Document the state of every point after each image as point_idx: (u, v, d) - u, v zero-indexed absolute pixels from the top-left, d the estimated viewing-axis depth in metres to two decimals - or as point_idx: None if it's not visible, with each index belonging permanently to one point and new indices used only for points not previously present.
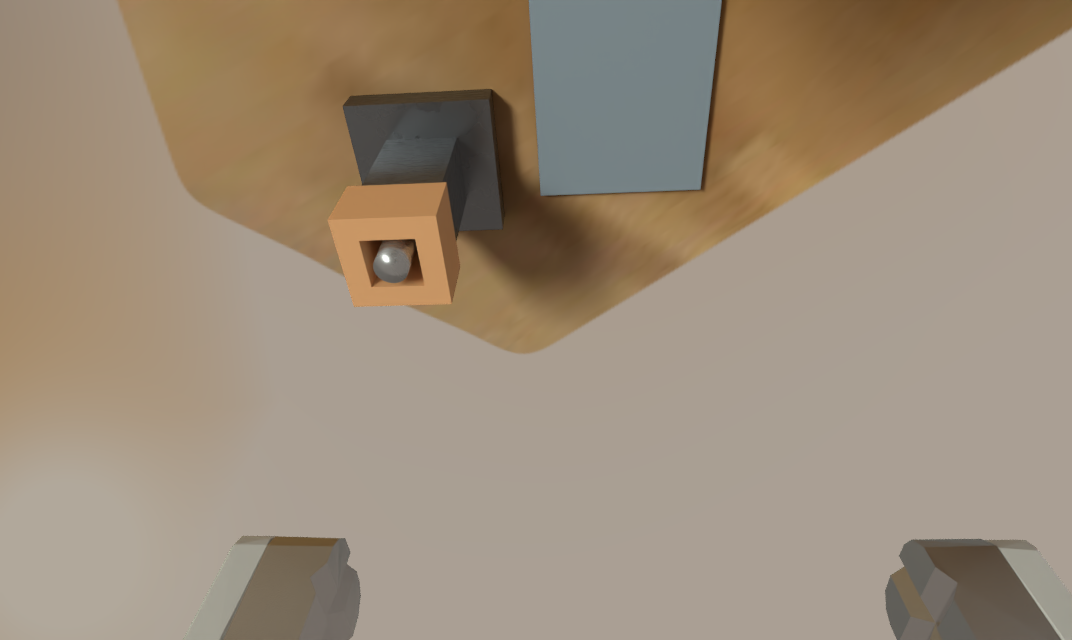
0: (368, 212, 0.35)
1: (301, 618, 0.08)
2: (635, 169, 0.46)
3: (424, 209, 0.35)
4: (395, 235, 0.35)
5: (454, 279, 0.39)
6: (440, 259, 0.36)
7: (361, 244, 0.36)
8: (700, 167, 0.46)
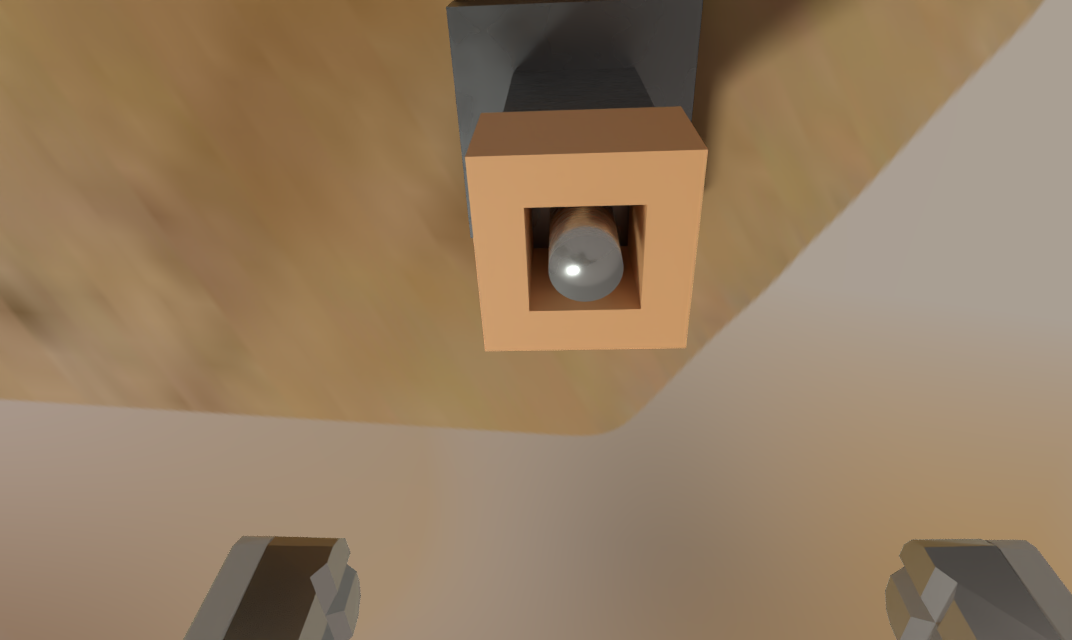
0: None
1: (301, 618, 0.08)
2: None
3: None
4: (516, 244, 0.17)
5: (674, 128, 0.17)
6: (577, 159, 0.16)
7: (544, 305, 0.18)
8: None
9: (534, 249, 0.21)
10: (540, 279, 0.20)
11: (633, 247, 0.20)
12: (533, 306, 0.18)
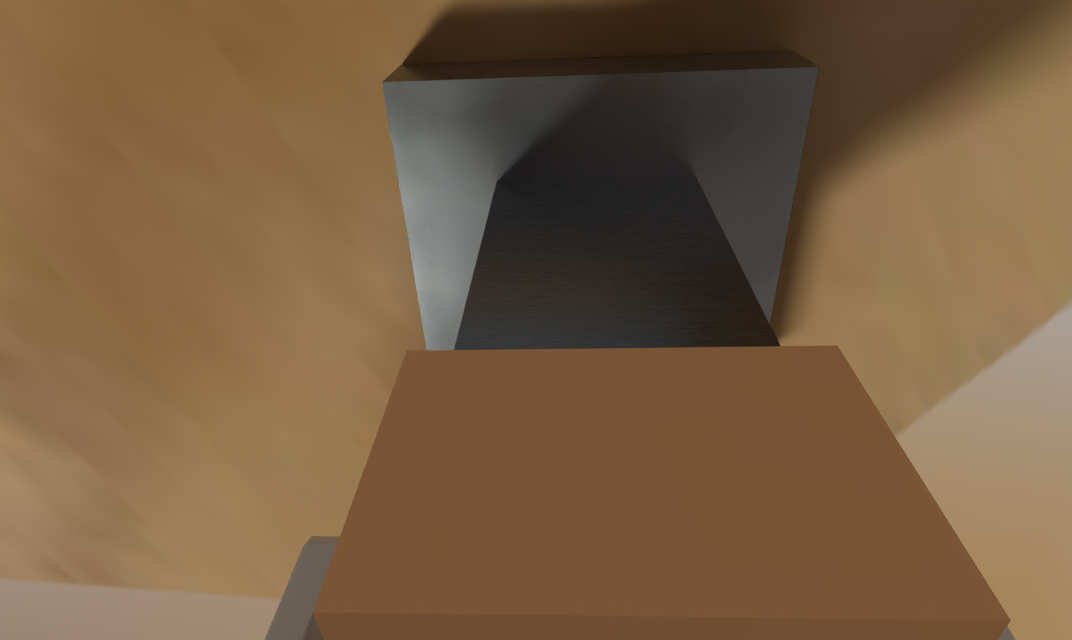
0: None
1: None
2: None
3: None
4: None
5: (860, 464, 0.07)
6: (628, 625, 0.06)
7: None
8: None
9: None
10: None
11: None
12: None
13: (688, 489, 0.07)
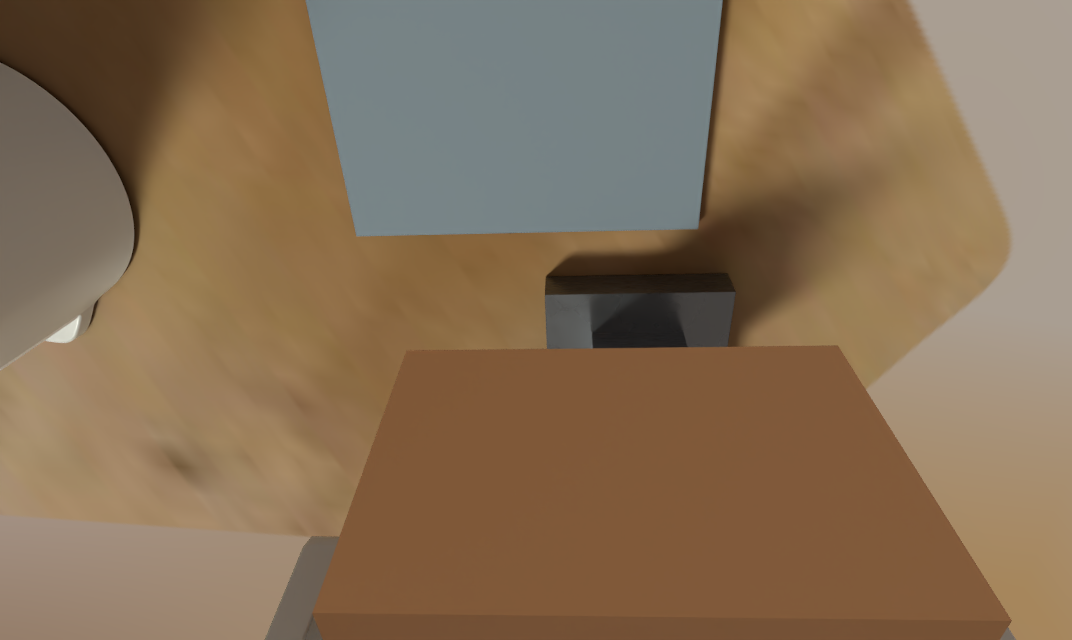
0: None
1: None
2: (672, 86, 0.29)
3: None
4: None
5: (861, 464, 0.07)
6: (629, 627, 0.06)
7: None
8: None
9: None
10: None
11: None
12: None
13: (688, 489, 0.07)
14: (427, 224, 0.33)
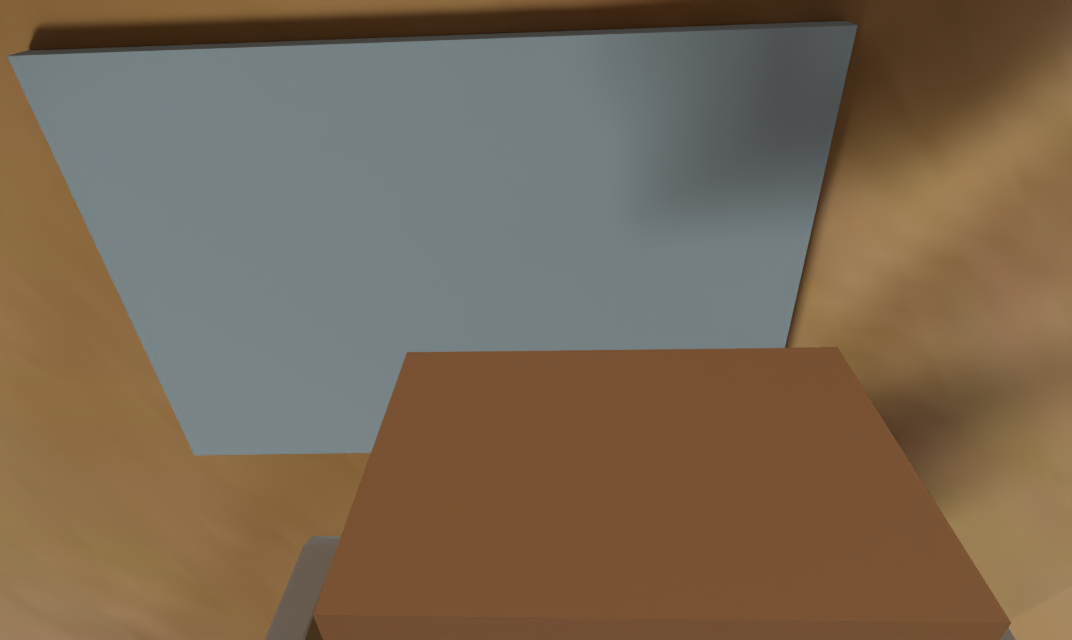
0: None
1: None
2: (734, 241, 0.16)
3: None
4: None
5: (861, 466, 0.07)
6: (630, 629, 0.06)
7: None
8: (768, 36, 0.13)
9: None
10: None
11: None
12: None
13: (688, 491, 0.07)
14: (311, 439, 0.20)
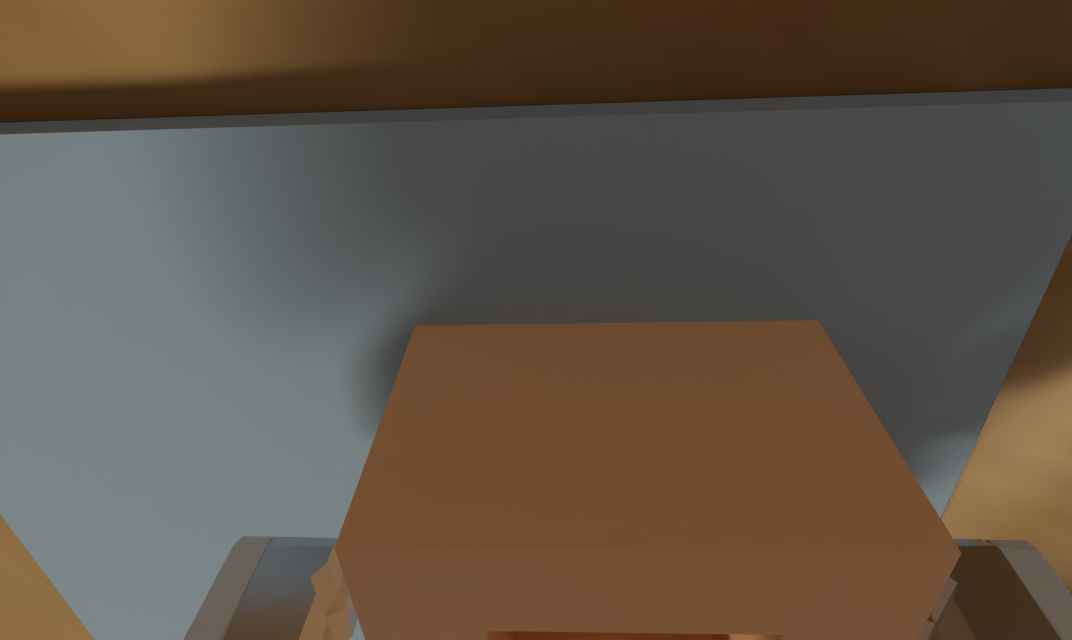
0: None
1: (301, 618, 0.08)
2: None
3: None
4: None
5: (834, 423, 0.07)
6: (618, 560, 0.06)
7: None
8: (973, 117, 0.08)
9: None
10: (532, 633, 0.10)
11: None
12: None
13: (675, 444, 0.07)
14: None
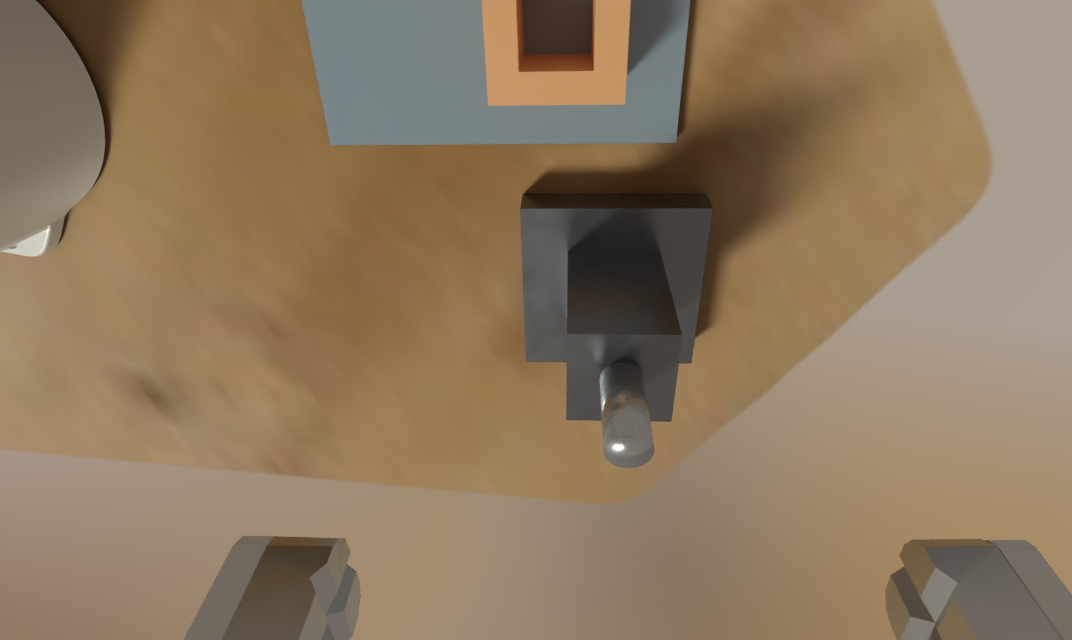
0: None
1: (301, 618, 0.08)
2: None
3: None
4: (510, 16, 0.26)
5: None
6: None
7: (528, 70, 0.27)
8: None
9: (525, 54, 0.30)
10: (528, 62, 0.28)
11: (592, 42, 0.28)
12: (521, 70, 0.27)
13: None
14: (402, 133, 0.33)
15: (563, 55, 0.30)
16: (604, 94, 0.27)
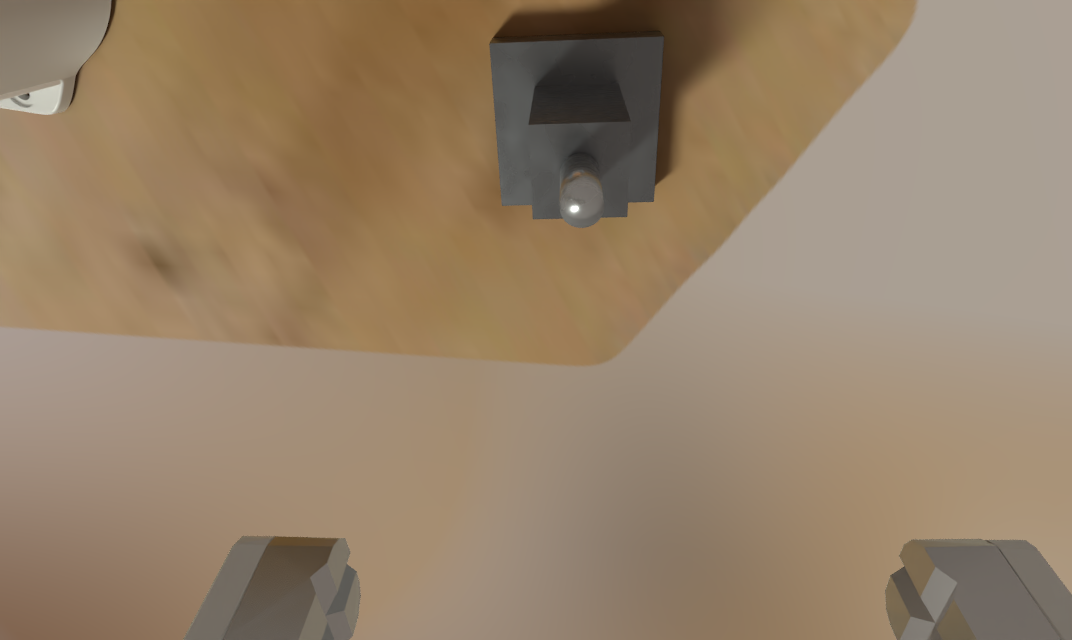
0: None
1: (301, 618, 0.08)
2: None
3: None
4: None
5: None
6: None
7: None
8: None
9: None
10: None
11: None
12: None
13: None
14: None
15: None
16: None
